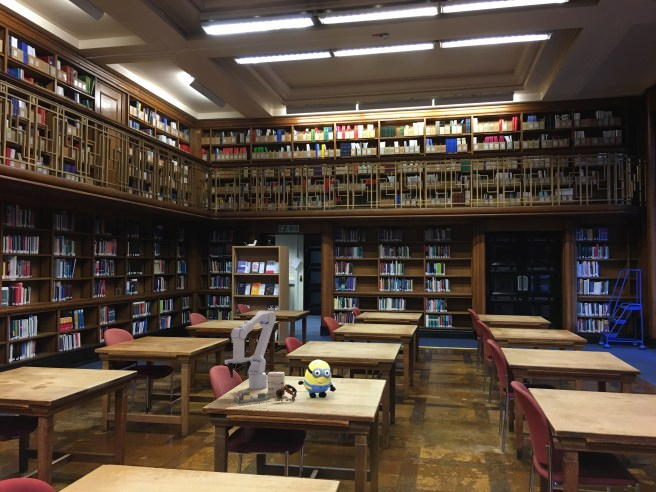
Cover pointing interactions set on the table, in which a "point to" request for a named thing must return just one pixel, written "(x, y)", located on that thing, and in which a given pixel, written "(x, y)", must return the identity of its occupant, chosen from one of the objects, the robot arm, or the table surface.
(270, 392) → the ink box
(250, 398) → the brass tag
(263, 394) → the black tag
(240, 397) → the plug
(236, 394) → the deck
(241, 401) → the socket panel
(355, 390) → the table surface
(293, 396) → the brown curved arch
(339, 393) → the table surface
